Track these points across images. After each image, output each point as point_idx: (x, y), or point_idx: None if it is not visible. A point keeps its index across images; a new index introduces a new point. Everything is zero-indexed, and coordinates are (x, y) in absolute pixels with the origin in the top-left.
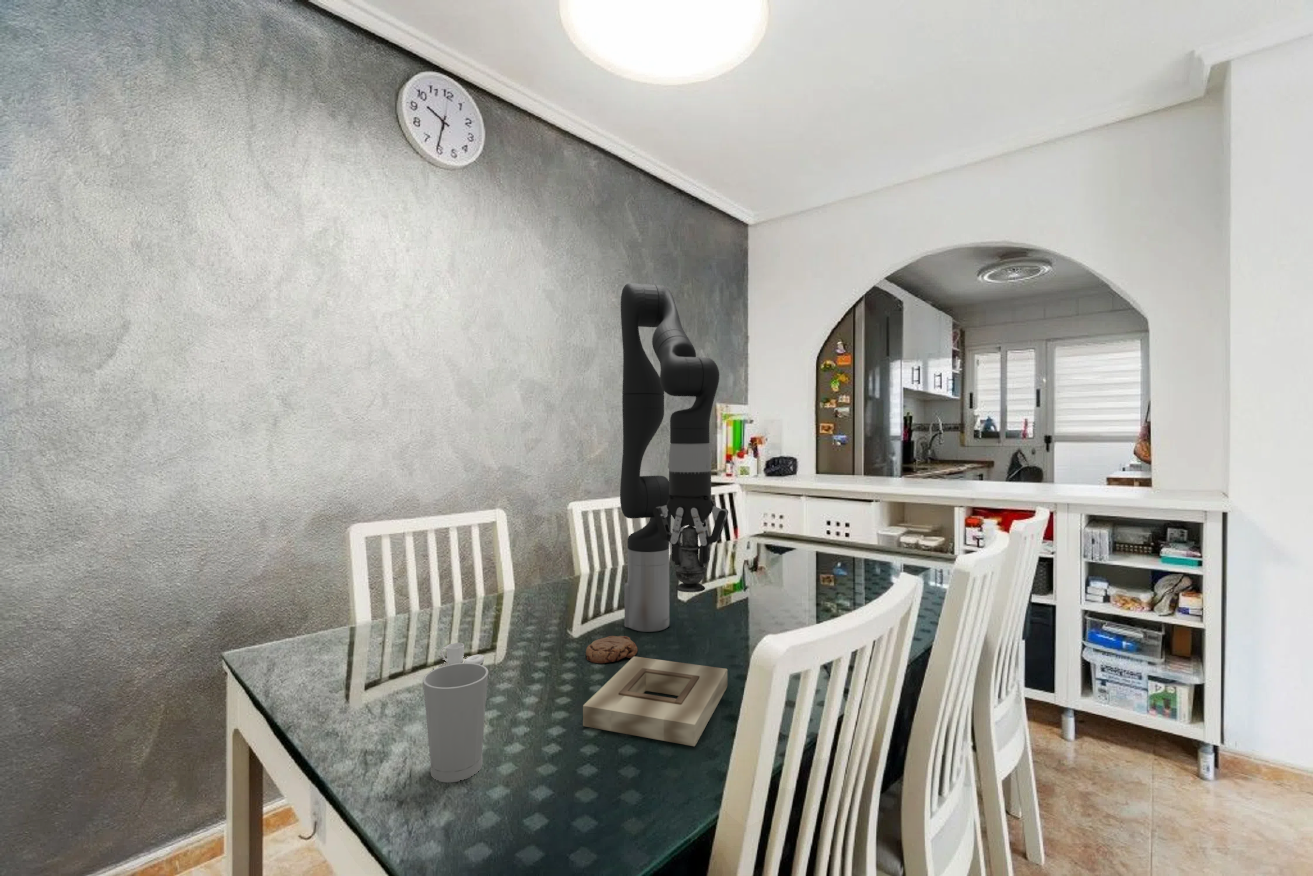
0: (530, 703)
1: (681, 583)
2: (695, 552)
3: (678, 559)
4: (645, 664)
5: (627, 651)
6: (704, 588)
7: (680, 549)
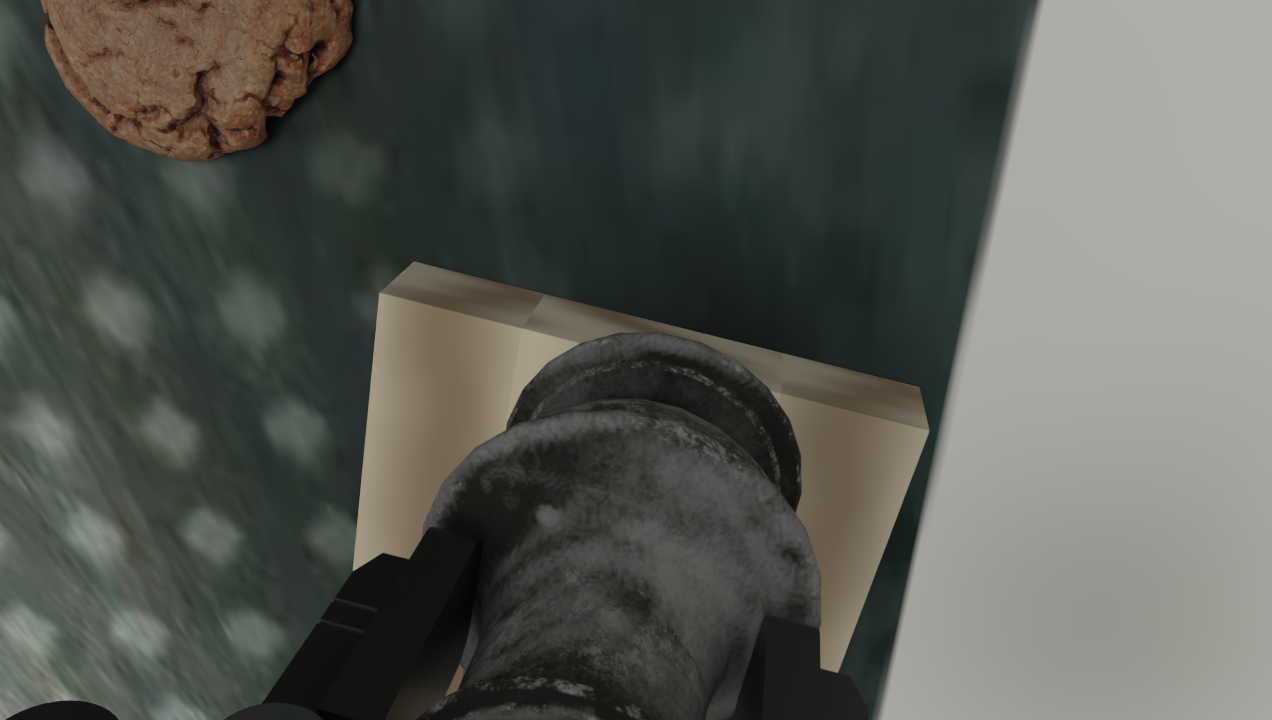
0: (110, 563)
1: (544, 409)
2: None
3: (442, 696)
4: (470, 396)
5: (301, 75)
6: (794, 508)
7: (410, 715)
